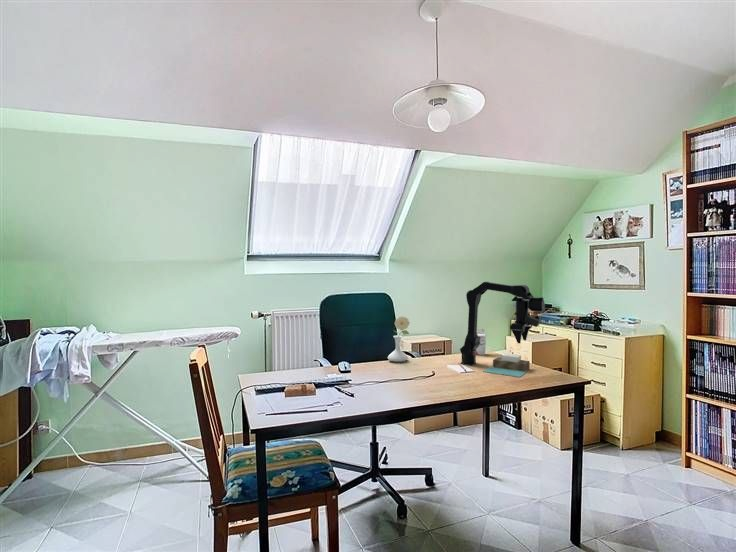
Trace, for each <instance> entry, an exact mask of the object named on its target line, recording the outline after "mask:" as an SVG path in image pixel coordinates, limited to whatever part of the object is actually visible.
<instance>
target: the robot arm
mask: <svg viewBox="0 0 736 552" xmlns="http://www.w3.org/2000/svg"><path fill="white" fill-rule="evenodd" d="M488 290H489V291H495V292H500V293H508V294H510V295H512V296H514V297H513V298H512V299H511V302H515V312H514V315H515V320H514V322H512V323H511V324H509V329H510V331H511V332H512V334H513V336H514V338H515V340H516V342H517V344H521V341H522V340H523V341H526V340H527V338H528V335H529V331H530V329H532V328H533V327H535V328H537V327H539V326H540V323H541V319H540V318H541V317H540V316H539V315H535V316H532V315H531V313H530V312H529V310H530V311H531V312H542V313H543V312H545V309H546V303H545V300H544V299H545V298H544V297H534V295H533V294H532V292H531V291H530V288H529V287H528V285H525V284H515V285H514V284H513V285H511V284H504V283H503V284H502V283H496V282H490V281H483V282H482V283H480V284H479V285H478V286H476V287H475V288H473V289H471V290H470V289H469V290H468V291H467V292H466V295H465V296H466V297H465V298H466V303H467V305H468V317H467V318H468V319H467V322H468V324H467V334H466V335H465V336H466V337H465V339H464V343H463V345H462V347H460V348H459V351H460V353H461V362H459V363H460V364H461V365H468V366H473V365H475V364H476V363H477V362H476V360H477V358H476V357H477V355H475V352H474V351H476V348H478V347H479V344H480V337H478V335H477V332H478V330H477V329H478V315H479V314H478V312H479V305H480V303H481V299H482V296H483V294H486V292H487V291H488Z"/></svg>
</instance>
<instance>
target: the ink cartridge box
mask: <svg viewBox="0 0 736 552" xmlns="http://www.w3.org/2000/svg"><path fill="white" fill-rule="evenodd" d="M477 335H478V337H480V344H479V347H478V348H476V351H474V352H475V355H476V356H486V348H487V347H486V345H487V344H486V340H487V339H486V336H487V335H486V334H485V329H484V328H477Z"/></svg>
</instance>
